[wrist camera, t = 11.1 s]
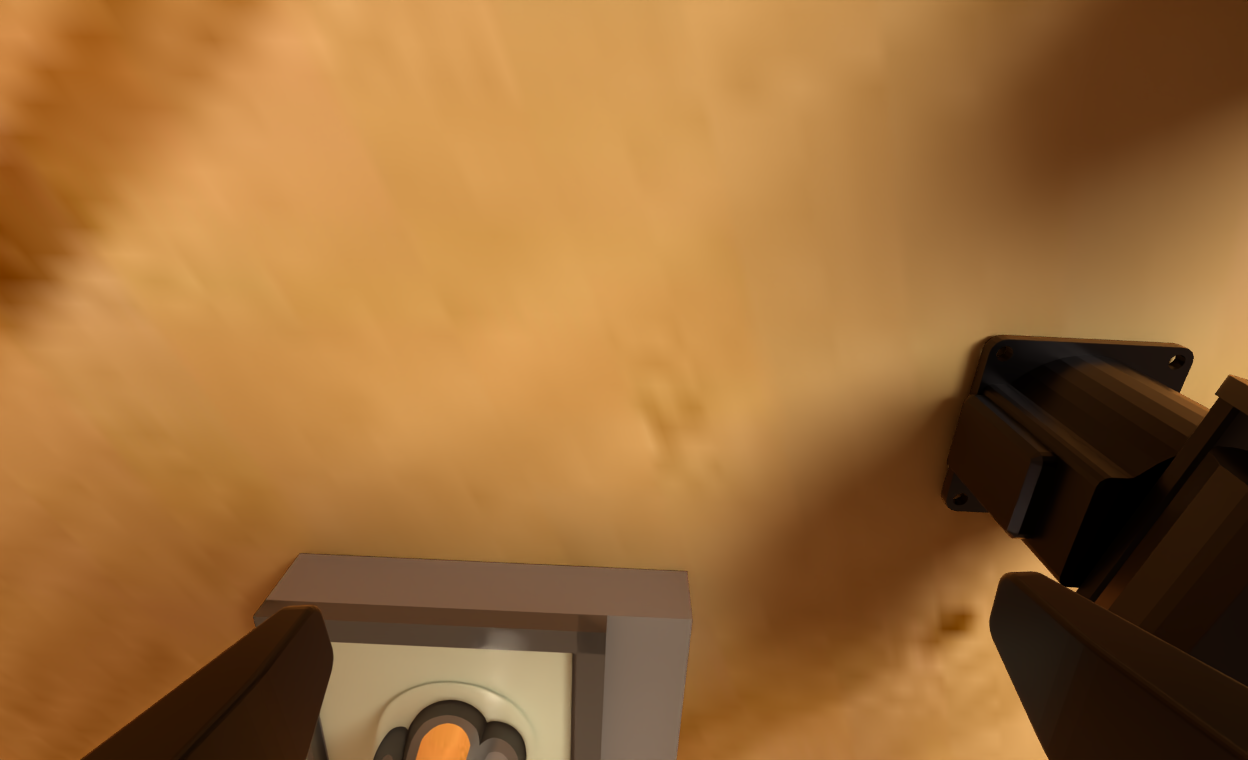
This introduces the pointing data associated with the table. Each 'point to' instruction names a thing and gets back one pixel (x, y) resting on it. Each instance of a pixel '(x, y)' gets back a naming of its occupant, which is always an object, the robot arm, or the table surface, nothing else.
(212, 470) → the table surface
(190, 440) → the table surface
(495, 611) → the dock
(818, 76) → the table surface
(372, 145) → the table surface
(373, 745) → the beer glass
